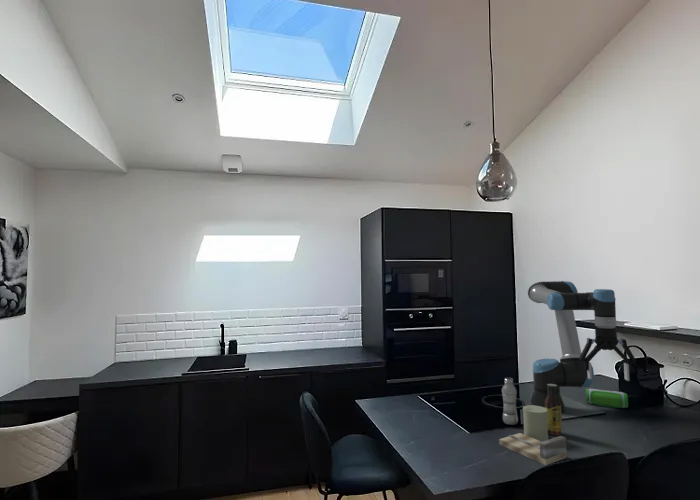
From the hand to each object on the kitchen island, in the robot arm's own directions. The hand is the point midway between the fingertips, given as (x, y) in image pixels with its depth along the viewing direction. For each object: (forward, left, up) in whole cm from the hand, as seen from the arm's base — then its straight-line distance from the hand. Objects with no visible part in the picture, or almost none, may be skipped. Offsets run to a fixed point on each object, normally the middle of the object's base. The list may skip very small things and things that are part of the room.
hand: (608, 379), depth 164 cm
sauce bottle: (-14, -16, -23) cm, 32 cm away
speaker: (-22, +38, -24) cm, 50 cm away
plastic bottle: (-30, -23, -23) cm, 45 cm away
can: (-15, -26, -23) cm, 38 cm away
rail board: (-8, -38, -23) cm, 45 cm away
